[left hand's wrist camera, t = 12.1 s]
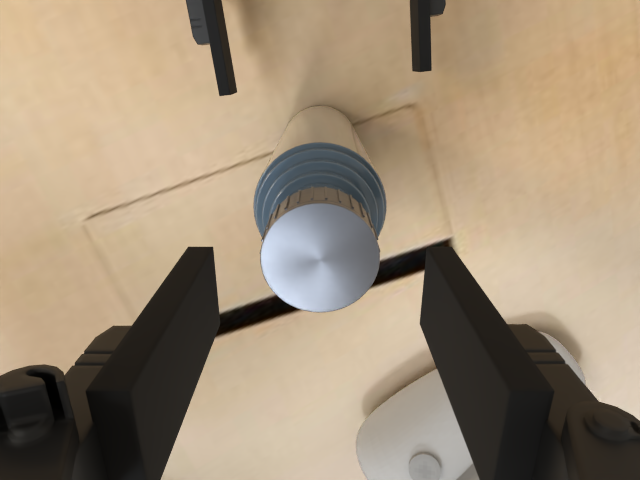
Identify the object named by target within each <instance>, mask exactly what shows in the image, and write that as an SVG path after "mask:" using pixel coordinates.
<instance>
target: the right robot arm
mask: <svg viewBox="0 0 640 480" xmlns="http://www.w3.org/2000/svg"><path fill="white" fill-rule="evenodd" d="M186 3H187V8H188V13H189V19H190V24H191V29H192V34H193V37H194V39H195V41H196V43H197V44H198V45H208V44H210V47H211V53H212V58H213V63H214V69H215V74H216V79H217V85H218V90H219V96H224V95H231V94H234V93H237V88H236V83H235V77H234V71H233V65H232V59H231V53H230V48H229V42H228V36H227V30H226V24H225V18H224V13H223V7H222V1H221V0H186ZM445 5H446V2H445V0H410V18H411V45H412V71H416V72H424V71H431V29H430V17H432V16H438V15H441V14H443V11H444V8H445Z"/></svg>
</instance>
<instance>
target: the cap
mask: <svg viewBox="0 0 640 480" xmlns="http://www.w3.org/2000/svg"><path fill="white" fill-rule="evenodd" d="M377 240H378V237H377V234H376V231H375V228H374V225H373V224H372V222H371V219H370V216H369V213H368V212H367V213H366V211H365V209H364V208H363V207H362V204H361V203H358V202H357V201H356V200H355V199H354V198H352V195H348V194H346V193H344V192H342V191H340V190H339V189H338V190H336V189H332V188H327V187H326V186H325V187H311V188H308V189H304V190H299V191H298V192H296V193H294V194H292V195H291V196H289V195H288V196H287V198H286V199H285V200H284V201H283V202H282V203H281V204H278V205H277V208H276V210H275V211H274V212H273V214H271V215H270V218H269V221H268V224H267V225H266V228H265V231H264V234H263V237H262V240H261V241H262V242H263V243H262V247H261V250H260V261H261V268H262V272H263V275H264V278H265V280H266V282H267V283H268V285H269V287H270V288H271V289H272V291H273V292H274V293H275V294H276V295H277V296H278V297H279V298H281V299H282V300H283V301H284V302H286V303H288V304H289V305H291V306H294V307H296V308H298V309H301V310H305V311H310V312H330V311H335V310H339V309H342V308H344V307H347V306H349V305H351V304H352V303H354V302H355V301H357V300H358V299H360V298H361V297H362V296H363V295H364V294H365V293H366V292H367V291H368V289H369V288H370V287H371V285H372V284H373V282H374V280H375V278H376V275H377V272H378V269H379V263H380V253H379V252H380V249H379V246H378V243H377Z"/></svg>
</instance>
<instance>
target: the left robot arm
mask: <svg viewBox="0 0 640 480" xmlns="http://www.w3.org/2000/svg"><path fill="white" fill-rule="evenodd" d="M219 325H220V317H219V306H218V295H217V285H216V274H215V263H214V252H213V247H188V248H187V249H186V251H185V252H184V254H183V255H182V256H181V258H180V259H179V261H178V262H177V263H176V265H175V266H174V268H173V269H172V270H171V272H170V273H169V275H168V276H167V277H166V279H165V280H164V282H163V283H162V284H161V286H160V287H159V289H158V290H157V291H156V293H155V294H154V296H153V297H152V298H151V300H150V301H149V303H148V304H147V305H146V307H145V308H144V310H143V311H142V312H141V314H140V315H139V317H138V318H137V319H136V321H135V322H134V324H133V325H132V326H112V327H111V328H109V329H108V330H106V331H105V332H103V333H102V334H100V335H99V336H97V337H96V338H95V339H94V340H93V341H92V342H91V344H90V345H89V346H88V347H87V349H86V350H85V351H84V354H82V355H81V356H80V357H79V358H78V360H77V361H76V362H75V366H72V367H71V368H70V369H69V371H68V372H67V373H66V374H65V376H64V373H63V372H62V371H61V370H60V369H59V368H57V367H55V366H49V365H33V366H27V367H23V368H19V369H16V370H12V371H10V372H8V373H5V374H3V375H1V376H0V480H161V477H162V474H163V472H164V469H165V466H166V464H167V461H168V459H169V456H170V453H171V451H172V448H173V446H174V443H175V440H176V438H177V435H178V433H179V430H180V427H181V425H182V422H183V419H184V417H185V414H186V412H187V409H188V406H189V404H190V401H191V399H192V396H193V393H194V391H195V388H196V385H197V383H198V380H199V378H200V375H201V372H202V370H203V367H204V365H205V362H206V359H207V357H208V354H209V352H210V349H211V346H212V344H213V341H214V338H215V336H216V333H217V331H218V328H219ZM420 325H421V328H422V331H423V333H424V336H425V338H426V341H427V344H428V346H429V349H430V352H431V354H432V357H433V359H434V362H435V365H436V367H437V370H438V372H439V375H440V378H441V380H442V383H443V385H444V388H445V391H446V393H447V396H448V399H449V401H450V404H451V406H452V409H453V412H454V414H455V417H456V419H457V422H458V425H459V427H460V430H461V433H462V435H463V438H464V440H465V443H466V446H467V448H468V451H469V453H470V456H471V459H472V461H473V464H474V467H475V469H476V472H477V474H478V477H479V480H640V421H639V420H638V419H637V418H635V417H634V416H633V415H631V414H629V413H627V412H625V411H623V410H622V409H620V408H618V407H615V406H612V405H608V404H605V403H602V402H599V401H598V400H597V399H596V398H595V397H594V395H593V394H592V393H591V392H590V390H589V389H588V388H587V387H586V386H585V384H584V383H583V382H582V381H581V379H580V378H579V377H578V376H577V375H576V373H575V372H574V371H573V370H572V369H571V367H570V366H569V365H568V364H566V363H565V360H564V359H563V358H562V356H561V355H560V354H559V353H556V349H555V348H554V347H553V345H552V344H551V343H550V342H549V341H548V339H547V338H546V337H545V336H544V335H542V334H541V333H539V332H538V331H536V330H535V329H533V328H532V327H530V326H529V325H527V324H506V322H505V321H504V319H503V318H502V317H501V315H500V314H499V312H498V311H497V310H496V308H495V307H494V305H493V304H492V303H491V301H490V300H489V298H488V297H487V296H486V294H485V293H484V291H483V290H482V289H481V287H480V286H479V284H478V283H477V282H476V280H475V279H474V277H473V276H472V275H471V273H470V272H469V270H468V269H467V268H466V266H465V265H464V263H463V262H462V261H461V259H460V258H459V256H458V255H457V254H456V252H455V251H454V249H453V248H452V247H427V252H426V263H425V274H424V285H423V295H422V306H421V317H420Z"/></svg>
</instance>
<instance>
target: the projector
mask: <svg viewBox="0 0 640 480" xmlns="http://www.w3.org/2000/svg"><path fill="white" fill-rule="evenodd" d="M538 332H539V333H541V334H542V335H544V336H545V337H546V338H547V339H548V341H549V342H550V343H551V344H552V345H553V347H554V348H555V349H556V353H559V354H560V355H561V356H562V358H563V359H564V360H565V363H566V364H568V365H569V366H570V367H571V369H572V370H573V371H574V372H575V373H576V375H577V376H578V377H579V378H580V379H581V381H582V382H583V383H584V384H585V377H584V374H583V372H582V370H581V368H580V366H579V365H578V363H577V362H576V360H575V359H574V358H573V356H572V355H571V354H570V353H569V352H568V350H567V349H566V348H565V347H564V346H563V345H562V344H561V343H560V342H559V341H558V340H556V339H555V338H553V337H552V336H550V335H548V334H546V333H544V332H540V331H538ZM356 452H357V457H358V461H359V464H360V466H361V469H362V471H363V473H364V475H365V476H366V478H367V480H479V477H478V474H477V472H476V469H475V467H474V464H473V461H472V459H471V456H470V453H469V451H468V448H467V446H466V443H465V440H464V438H463V435H462V433H461V430H460V427H459V425H458V422H457V419H456V417H455V414H454V412H453V409H452V406H451V404H450V401H449V399H448V396H447V393H446V391H445V388H444V385H443V383H442V380H441V378H440V375H439V372H438V370H437V369H435V370H433V371H431V372H429V373H428V374H426V375H424V376H423V377H421V378H419V379H418V380H416V381H414V382H413V383H411V384H410V385H408V386H406V387H405V388H403V389H402V390H400V391H399V392H397V393H396V394H395V395H393V396H392V397H390V398H389V399H388V400H386V401H385V402H384V403H382V404H381V405H380V406H379V407H378V408H376V409H375V410H374V411H373V412H372V413H371V414H370V415H369V416H368V417H367V418H366V420H365V421H364V422H363V424H362V425H361V427H360V429H359V432H358V434H357V439H356Z"/></svg>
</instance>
